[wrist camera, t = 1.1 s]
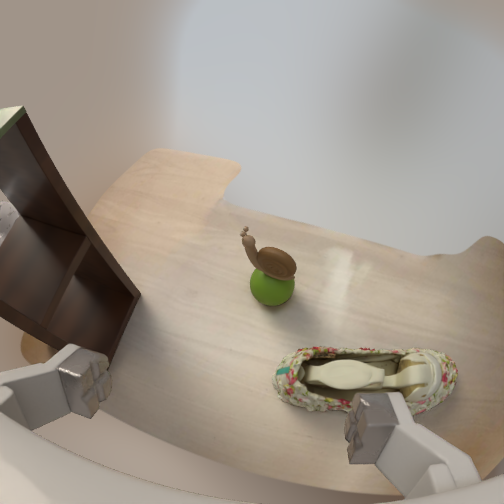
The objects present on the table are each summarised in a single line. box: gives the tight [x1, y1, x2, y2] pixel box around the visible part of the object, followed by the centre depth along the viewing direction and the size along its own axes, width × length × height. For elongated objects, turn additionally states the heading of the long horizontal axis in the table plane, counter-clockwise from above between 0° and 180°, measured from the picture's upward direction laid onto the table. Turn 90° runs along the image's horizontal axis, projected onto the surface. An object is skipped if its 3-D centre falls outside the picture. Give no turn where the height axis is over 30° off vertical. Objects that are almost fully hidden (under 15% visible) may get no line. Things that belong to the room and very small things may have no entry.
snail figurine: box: [240, 227, 297, 306], centre depth 35 cm, size 5×6×12 cm
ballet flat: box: [272, 346, 458, 416], centre depth 30 cm, size 9×25×8 cm, turn 86°
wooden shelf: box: [0, 106, 141, 371], centre depth 26 cm, size 12×12×30 cm
